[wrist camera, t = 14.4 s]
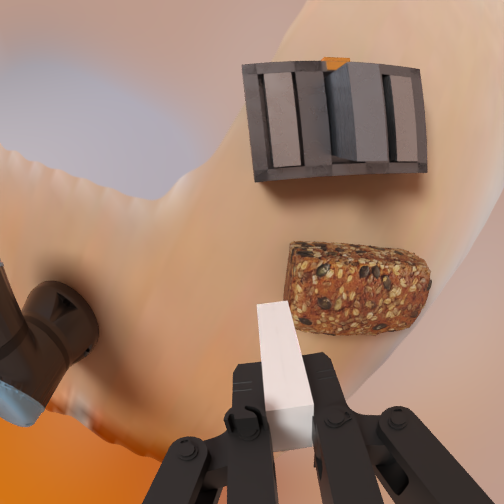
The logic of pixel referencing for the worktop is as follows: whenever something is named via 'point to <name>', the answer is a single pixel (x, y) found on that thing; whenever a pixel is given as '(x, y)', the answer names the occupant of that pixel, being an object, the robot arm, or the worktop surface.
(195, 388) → the worktop surface
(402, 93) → the rack
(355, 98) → the block
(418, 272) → the bread
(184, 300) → the worktop surface
